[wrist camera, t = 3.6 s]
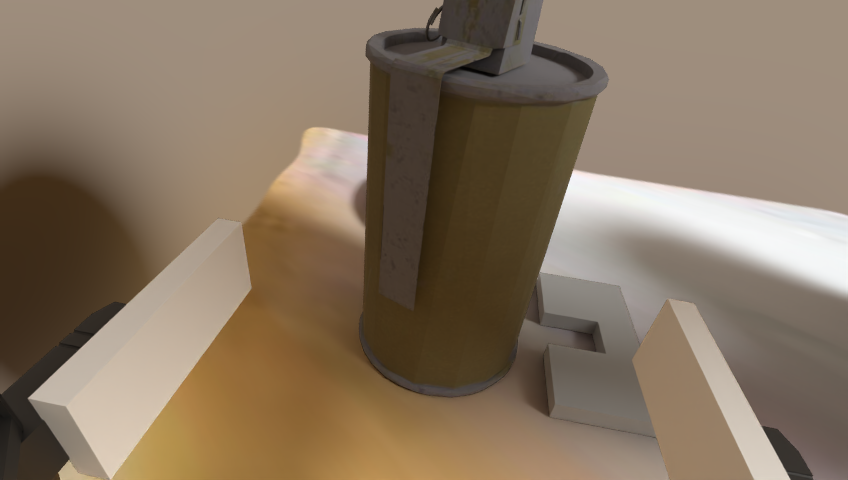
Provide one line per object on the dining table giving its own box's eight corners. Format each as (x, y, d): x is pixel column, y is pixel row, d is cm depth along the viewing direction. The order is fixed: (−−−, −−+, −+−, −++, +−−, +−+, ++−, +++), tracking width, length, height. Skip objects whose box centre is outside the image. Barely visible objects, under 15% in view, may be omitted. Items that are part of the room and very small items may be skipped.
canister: (415, 261, 34) (449, -33, 23) (539, 320, 30) (654, -2, 19) (319, 345, 27) (299, -38, 15) (468, 439, 23) (592, 14, 11)
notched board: (613, 297, 33) (619, 286, 33) (658, 437, 24) (667, 425, 23) (535, 284, 34) (539, 272, 33) (549, 417, 24) (555, 404, 23)
